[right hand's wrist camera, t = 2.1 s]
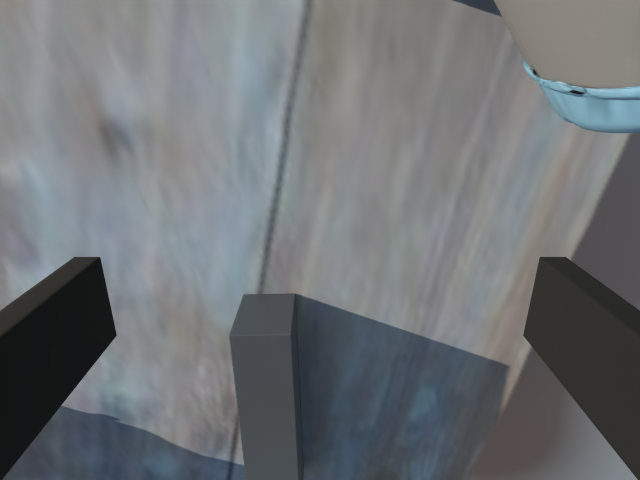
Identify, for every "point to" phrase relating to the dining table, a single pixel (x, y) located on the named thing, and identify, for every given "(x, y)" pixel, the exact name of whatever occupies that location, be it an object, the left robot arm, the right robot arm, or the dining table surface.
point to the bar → (268, 386)
